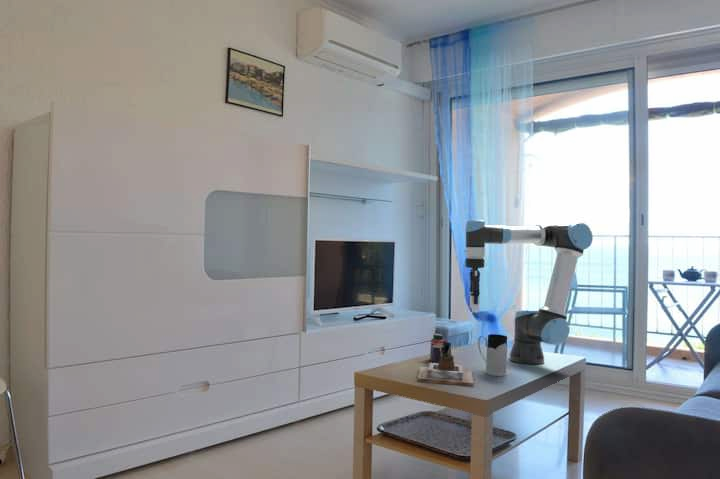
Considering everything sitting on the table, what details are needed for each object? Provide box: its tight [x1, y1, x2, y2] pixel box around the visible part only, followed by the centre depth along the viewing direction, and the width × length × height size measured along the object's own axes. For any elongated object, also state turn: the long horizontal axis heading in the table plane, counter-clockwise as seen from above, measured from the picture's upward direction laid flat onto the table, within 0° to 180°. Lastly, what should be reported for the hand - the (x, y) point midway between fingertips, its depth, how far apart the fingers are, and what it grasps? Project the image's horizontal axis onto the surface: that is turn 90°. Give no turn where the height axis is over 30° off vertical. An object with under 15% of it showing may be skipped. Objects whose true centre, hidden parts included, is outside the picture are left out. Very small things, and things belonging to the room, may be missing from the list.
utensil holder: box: [438, 343, 456, 371], centre depth 204 cm, size 6×6×12 cm
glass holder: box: [477, 333, 508, 377], centre depth 218 cm, size 9×14×15 cm, turn 36°
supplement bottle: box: [429, 333, 444, 361], centre depth 236 cm, size 6×6×11 cm
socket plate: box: [417, 362, 474, 387], centre depth 204 cm, size 20×20×4 cm
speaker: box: [432, 339, 452, 364], centre depth 225 cm, size 8×6×10 cm
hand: (474, 310), depth 218 cm, fingers open, 13 cm apart
